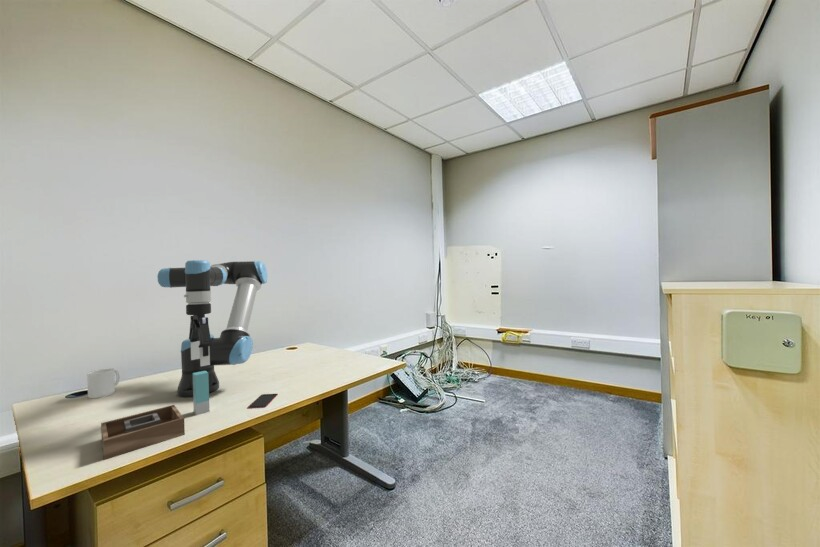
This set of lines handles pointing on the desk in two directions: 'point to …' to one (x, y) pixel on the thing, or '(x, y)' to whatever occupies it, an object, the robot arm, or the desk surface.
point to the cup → (102, 382)
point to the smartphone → (262, 401)
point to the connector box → (141, 430)
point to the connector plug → (201, 392)
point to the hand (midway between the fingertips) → (200, 362)
